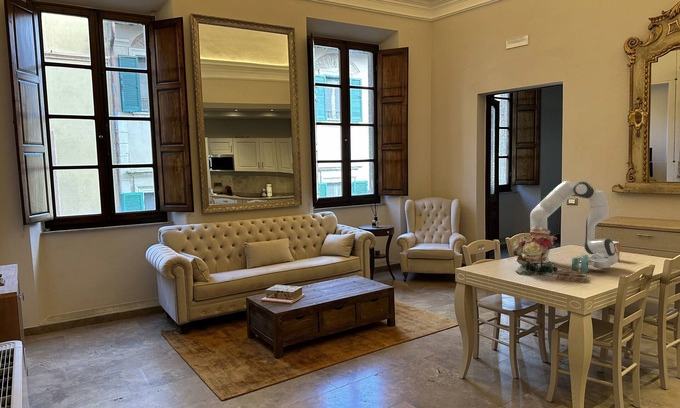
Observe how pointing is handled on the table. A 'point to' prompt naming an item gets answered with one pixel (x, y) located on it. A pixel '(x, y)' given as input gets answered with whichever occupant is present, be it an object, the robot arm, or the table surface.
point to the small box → (617, 248)
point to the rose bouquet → (534, 252)
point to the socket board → (572, 277)
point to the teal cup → (574, 267)
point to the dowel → (584, 263)
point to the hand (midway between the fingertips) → (583, 263)
